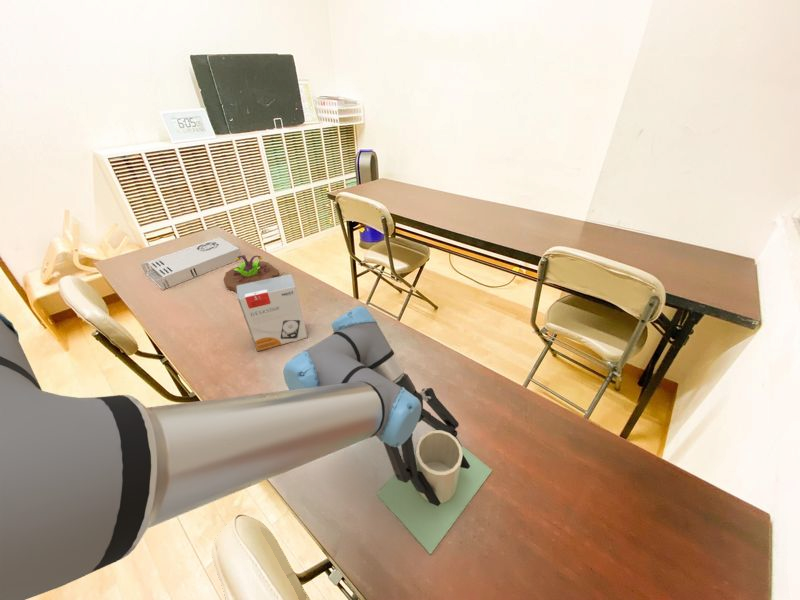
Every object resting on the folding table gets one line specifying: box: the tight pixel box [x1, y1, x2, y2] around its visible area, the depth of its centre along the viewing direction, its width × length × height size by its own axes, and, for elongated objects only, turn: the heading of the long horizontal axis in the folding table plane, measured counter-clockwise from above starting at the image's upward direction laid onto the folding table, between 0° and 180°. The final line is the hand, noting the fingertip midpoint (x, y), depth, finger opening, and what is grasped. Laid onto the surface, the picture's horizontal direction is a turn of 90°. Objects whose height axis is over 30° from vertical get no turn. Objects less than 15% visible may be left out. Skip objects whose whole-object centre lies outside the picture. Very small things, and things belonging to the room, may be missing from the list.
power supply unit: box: [140, 236, 243, 291], centre depth 138 cm, size 19×33×5 cm, turn 140°
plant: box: [223, 254, 280, 294], centre depth 127 cm, size 20×20×11 cm
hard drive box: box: [236, 273, 308, 352], centre depth 96 cm, size 16×8×20 cm, turn 114°
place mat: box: [376, 445, 493, 556], centre depth 66 cm, size 20×14×1 cm
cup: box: [415, 429, 463, 503], centre depth 62 cm, size 8×8×12 cm
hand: (450, 483), depth 61 cm, fingers closed on cup, 8 cm apart
